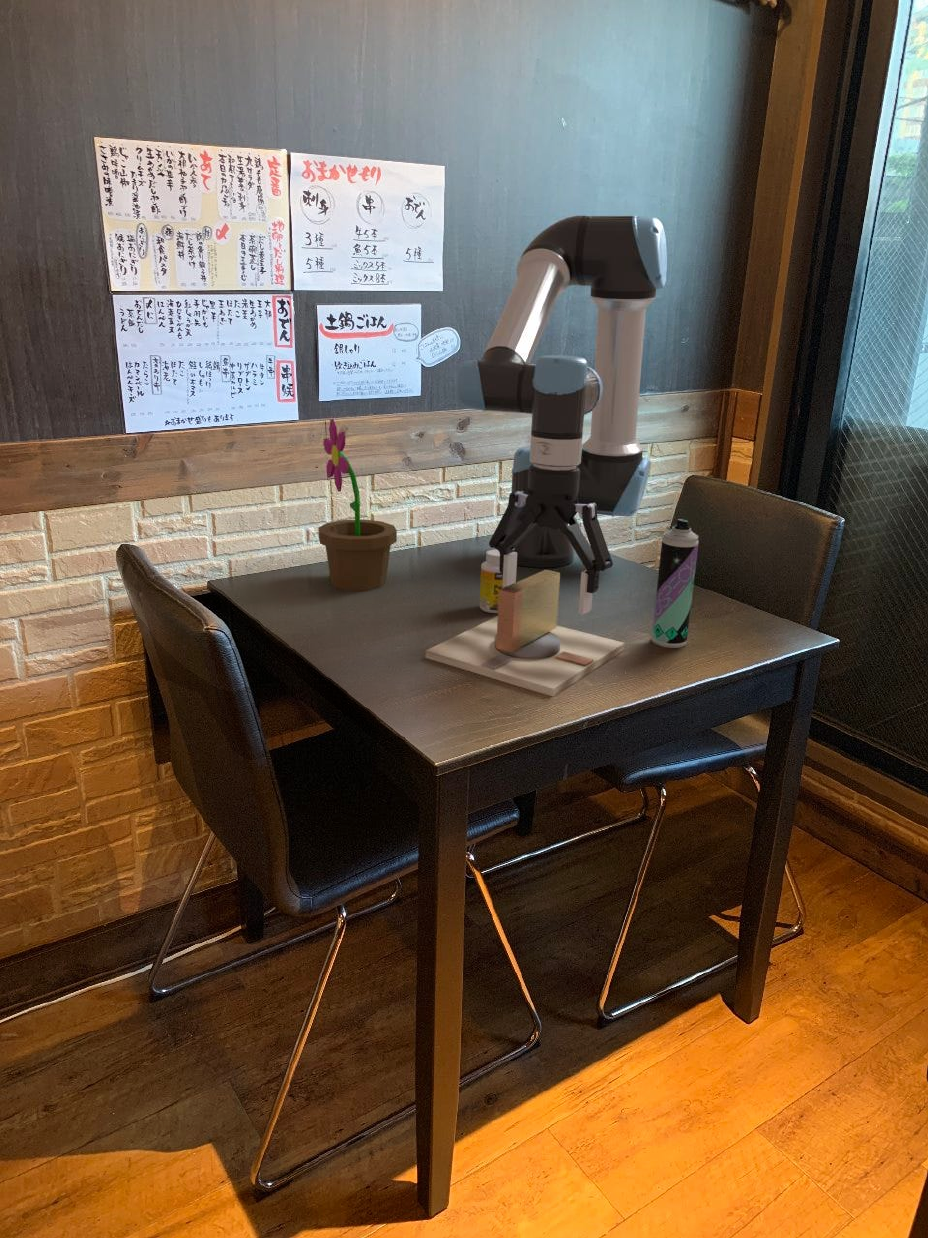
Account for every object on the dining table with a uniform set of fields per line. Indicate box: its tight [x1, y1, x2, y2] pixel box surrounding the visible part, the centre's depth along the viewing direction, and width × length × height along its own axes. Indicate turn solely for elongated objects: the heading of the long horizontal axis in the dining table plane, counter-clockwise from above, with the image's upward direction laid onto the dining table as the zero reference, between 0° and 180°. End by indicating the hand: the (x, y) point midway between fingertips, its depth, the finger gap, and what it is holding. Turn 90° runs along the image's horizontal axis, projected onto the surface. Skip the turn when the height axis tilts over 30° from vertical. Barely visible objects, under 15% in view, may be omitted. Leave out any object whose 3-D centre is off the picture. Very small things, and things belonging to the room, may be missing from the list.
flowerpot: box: [318, 418, 398, 592], centre depth 168 cm, size 14×14×30 cm
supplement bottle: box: [479, 549, 503, 615], centre depth 159 cm, size 6×6×10 cm
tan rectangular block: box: [496, 569, 561, 653], centre depth 140 cm, size 13×3×9 cm, turn 145°
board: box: [425, 615, 626, 698], centre depth 142 cm, size 22×22×2 cm
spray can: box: [651, 518, 699, 649], centre depth 145 cm, size 6×6×20 cm
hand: (545, 602), depth 143 cm, fingers open, 13 cm apart
